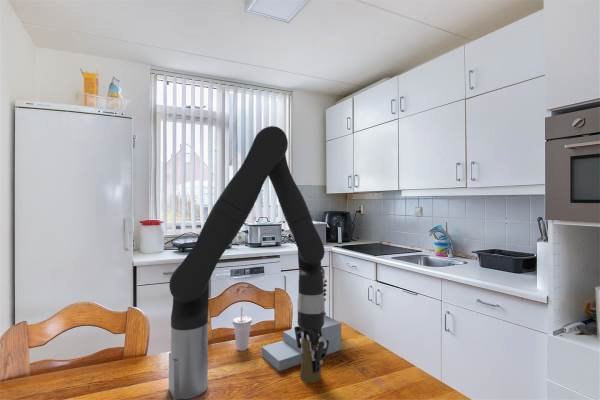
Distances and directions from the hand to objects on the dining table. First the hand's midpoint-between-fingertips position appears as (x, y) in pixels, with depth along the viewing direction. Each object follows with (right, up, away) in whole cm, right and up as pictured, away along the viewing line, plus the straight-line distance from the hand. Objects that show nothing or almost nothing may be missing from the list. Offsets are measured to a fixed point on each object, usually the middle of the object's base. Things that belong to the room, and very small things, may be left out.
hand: (310, 368), depth 89 cm
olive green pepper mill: (0, -2, 0) cm, 2 cm away
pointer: (+2, -2, +8) cm, 8 cm away
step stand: (-2, -2, +14) cm, 14 cm away
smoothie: (-23, -3, +17) cm, 29 cm away
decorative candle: (+3, -3, +32) cm, 32 cm away
